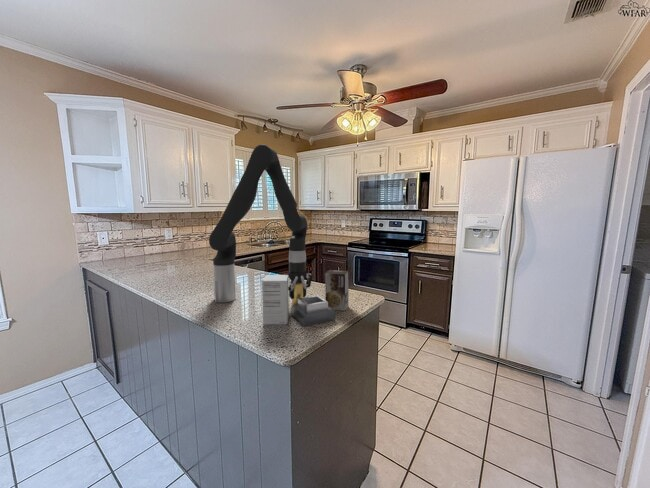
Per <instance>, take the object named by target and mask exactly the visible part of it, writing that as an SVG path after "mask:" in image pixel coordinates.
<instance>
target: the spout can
mask: <svg viewBox="0 0 650 488" xmlns="http://www.w3.org/2000/svg"><path fill="white" fill-rule="evenodd" d="M293 294H294V299H291V300H292V302H291V306H292V305H294V304H298V298H304V297H303V283H296V284H295V286H294V288H293Z"/></svg>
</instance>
